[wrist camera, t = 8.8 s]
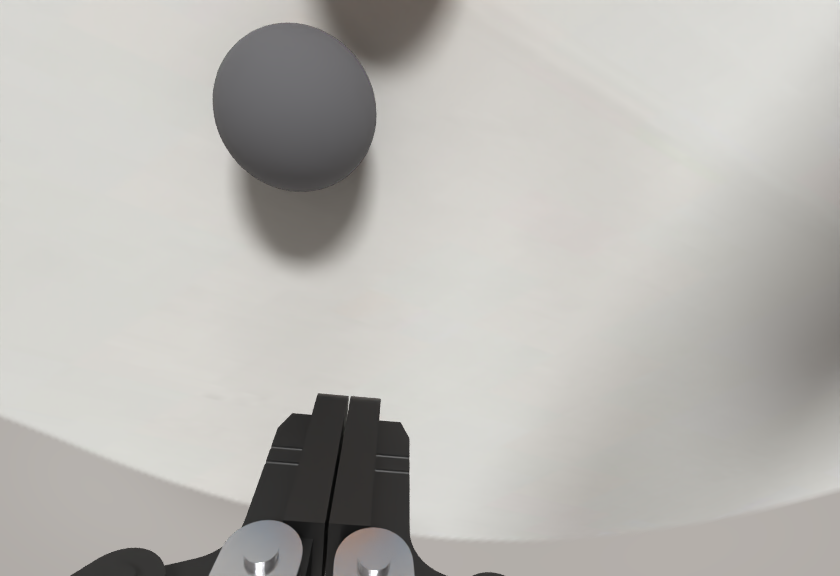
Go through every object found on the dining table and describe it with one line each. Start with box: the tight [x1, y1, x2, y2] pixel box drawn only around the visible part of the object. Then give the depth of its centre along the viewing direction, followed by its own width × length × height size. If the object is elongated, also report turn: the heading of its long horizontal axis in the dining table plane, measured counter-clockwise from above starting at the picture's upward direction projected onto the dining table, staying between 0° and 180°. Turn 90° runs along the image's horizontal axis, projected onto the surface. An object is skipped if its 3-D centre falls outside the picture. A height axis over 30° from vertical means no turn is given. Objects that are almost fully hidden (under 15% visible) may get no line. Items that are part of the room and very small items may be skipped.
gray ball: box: [213, 23, 376, 192], centre depth 17 cm, size 6×6×6 cm
